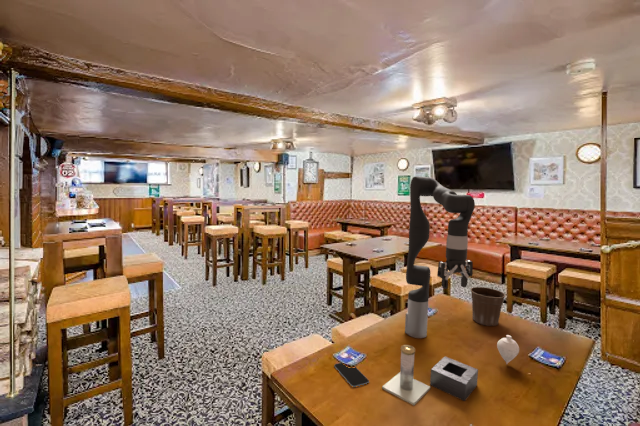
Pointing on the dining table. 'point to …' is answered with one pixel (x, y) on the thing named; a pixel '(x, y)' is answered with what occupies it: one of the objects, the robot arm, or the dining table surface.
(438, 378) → the eye block
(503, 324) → the dining table surface
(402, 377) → the steel peg
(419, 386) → the cream pad
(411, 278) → the robot arm
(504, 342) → the spinning top
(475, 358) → the dining table surface
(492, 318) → the plant pot
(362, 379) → the smartphone
